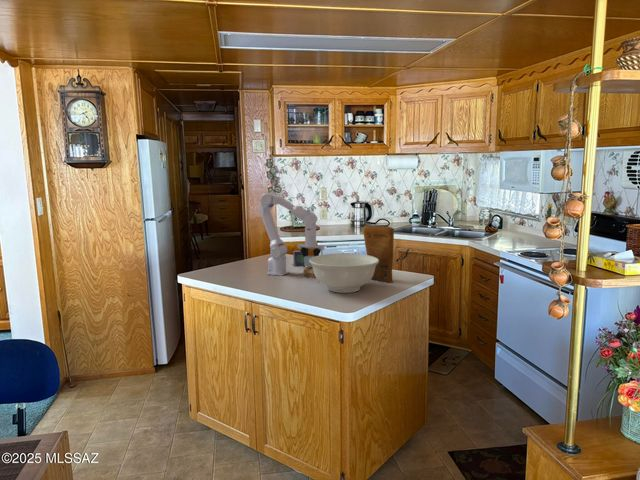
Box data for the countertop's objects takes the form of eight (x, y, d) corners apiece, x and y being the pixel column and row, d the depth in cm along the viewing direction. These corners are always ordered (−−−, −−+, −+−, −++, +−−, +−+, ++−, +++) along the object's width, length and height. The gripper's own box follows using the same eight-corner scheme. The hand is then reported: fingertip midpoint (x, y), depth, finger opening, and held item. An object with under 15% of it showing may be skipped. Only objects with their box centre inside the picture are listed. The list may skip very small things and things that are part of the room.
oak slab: (303, 272, 249) (303, 268, 249) (308, 270, 254) (308, 266, 254) (312, 273, 247) (312, 269, 247) (317, 271, 252) (317, 267, 251)
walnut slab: (302, 277, 250) (302, 272, 249) (308, 275, 255) (307, 270, 255) (313, 278, 247) (313, 273, 247) (318, 276, 252) (318, 271, 252)
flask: (292, 266, 275) (292, 248, 274) (294, 265, 278) (294, 247, 276) (308, 267, 273) (308, 248, 271) (309, 266, 276) (309, 248, 274)
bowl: (337, 277, 247) (337, 250, 244) (391, 287, 226) (391, 257, 224) (295, 290, 222) (295, 259, 220) (351, 302, 202) (352, 269, 199)
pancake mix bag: (388, 284, 231) (389, 228, 227) (361, 278, 246) (361, 224, 241) (397, 282, 236) (399, 226, 231) (370, 276, 250) (370, 223, 246)
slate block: (304, 266, 249) (304, 256, 248) (308, 264, 253) (308, 255, 252) (312, 266, 246) (312, 257, 246) (316, 265, 251) (316, 255, 250)
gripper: (294, 237, 247) (295, 262, 249) (320, 238, 241) (320, 264, 243) (300, 235, 253) (301, 260, 256) (325, 236, 247) (325, 262, 250)
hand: (310, 262), depth 250 cm, fingers closed on slate block, 5 cm apart
